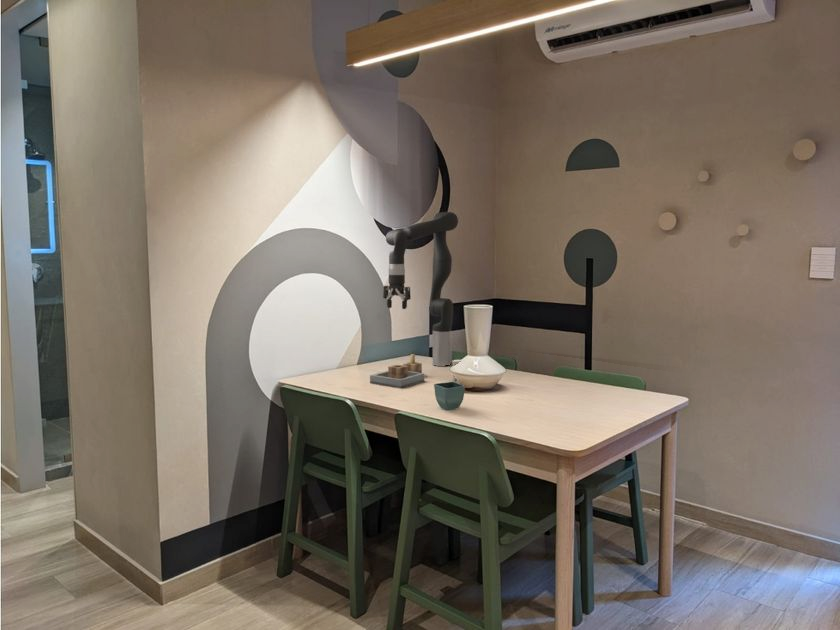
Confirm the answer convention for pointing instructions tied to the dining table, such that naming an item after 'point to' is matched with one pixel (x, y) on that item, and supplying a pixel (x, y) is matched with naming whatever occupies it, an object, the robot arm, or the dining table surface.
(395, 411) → the dining table surface
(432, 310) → the robot arm
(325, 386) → the dining table surface
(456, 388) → the flower pot
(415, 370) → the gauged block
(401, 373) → the bored block
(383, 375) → the tray
